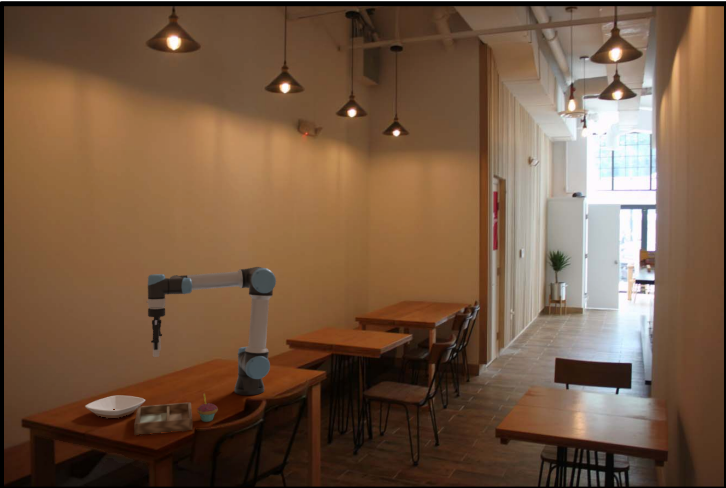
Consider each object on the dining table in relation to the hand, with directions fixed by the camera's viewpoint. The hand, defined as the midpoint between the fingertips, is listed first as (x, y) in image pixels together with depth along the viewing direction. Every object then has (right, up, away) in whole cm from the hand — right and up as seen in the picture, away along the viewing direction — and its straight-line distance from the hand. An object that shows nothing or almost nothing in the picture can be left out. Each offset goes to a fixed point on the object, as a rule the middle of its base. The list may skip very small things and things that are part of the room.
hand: (156, 353), depth 269 cm
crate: (+10, -27, -19) cm, 34 cm away
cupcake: (+27, -27, -14) cm, 40 cm away
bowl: (-16, -26, -7) cm, 32 cm away
